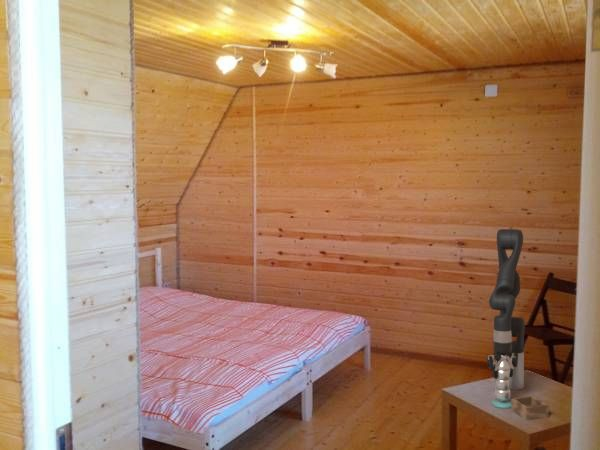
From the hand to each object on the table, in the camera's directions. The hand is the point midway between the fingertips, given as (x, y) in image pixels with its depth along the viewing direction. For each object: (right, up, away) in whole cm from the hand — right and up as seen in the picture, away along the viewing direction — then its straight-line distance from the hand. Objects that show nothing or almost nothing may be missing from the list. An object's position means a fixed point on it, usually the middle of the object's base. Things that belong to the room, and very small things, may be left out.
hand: (502, 377), depth 261 cm
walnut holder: (+8, -13, -10) cm, 18 cm away
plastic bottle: (0, -10, +1) cm, 10 cm away
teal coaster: (0, -12, +1) cm, 12 cm away
